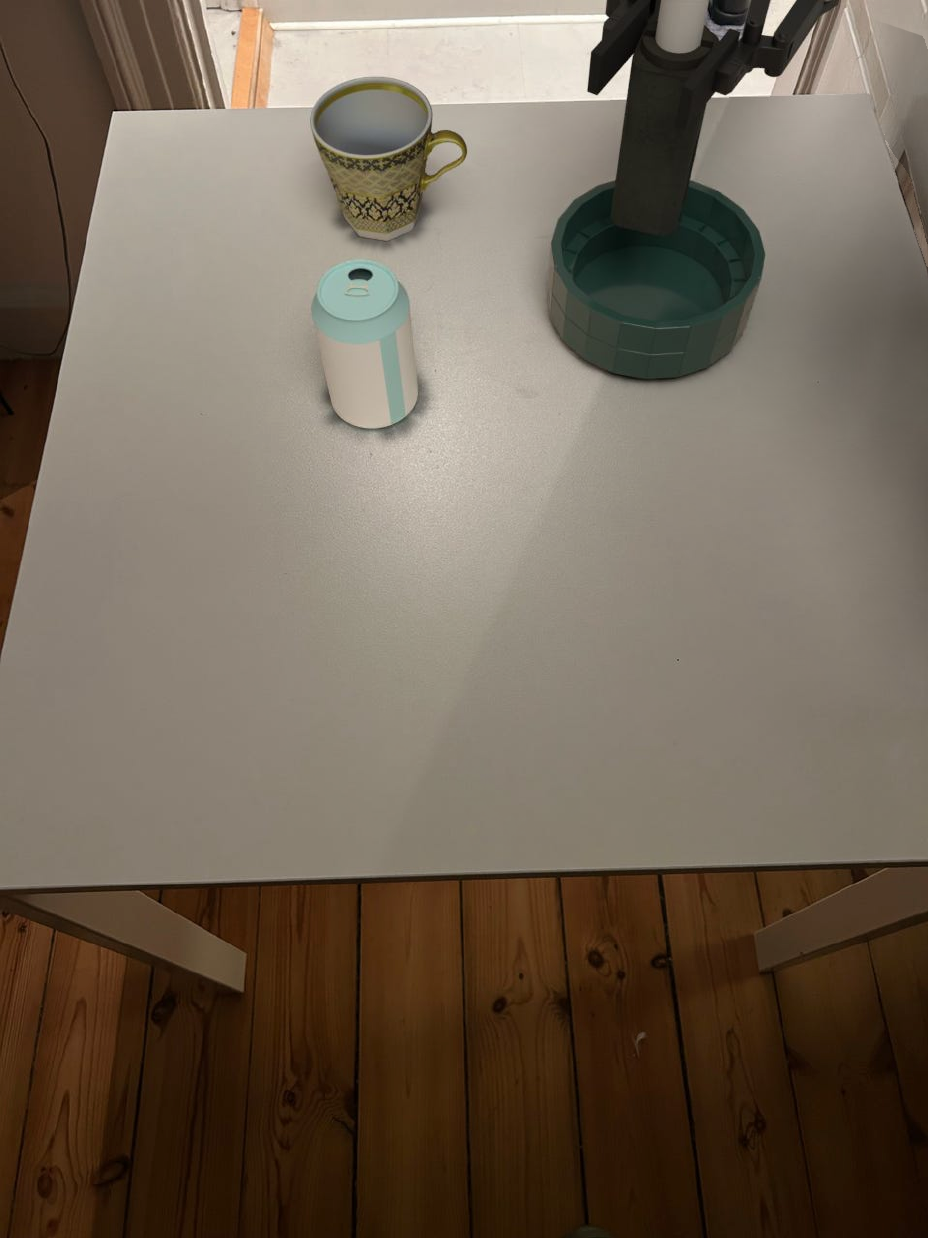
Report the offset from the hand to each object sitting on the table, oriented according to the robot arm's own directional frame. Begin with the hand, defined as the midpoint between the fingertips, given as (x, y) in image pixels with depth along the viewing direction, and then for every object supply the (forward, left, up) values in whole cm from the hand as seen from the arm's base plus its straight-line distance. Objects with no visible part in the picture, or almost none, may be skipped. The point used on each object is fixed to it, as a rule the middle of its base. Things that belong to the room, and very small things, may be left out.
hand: (638, 90), depth 62 cm
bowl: (-1, -5, -22) cm, 23 cm away
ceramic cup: (+23, -3, -23) cm, 32 cm away
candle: (0, -5, -13) cm, 14 cm away
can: (+13, +15, -23) cm, 30 cm away
